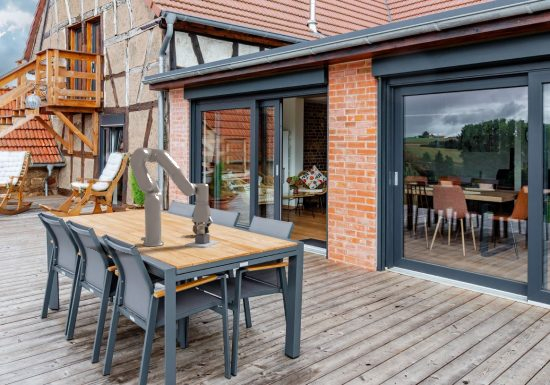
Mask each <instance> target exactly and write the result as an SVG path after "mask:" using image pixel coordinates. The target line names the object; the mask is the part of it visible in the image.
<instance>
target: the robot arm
mask: <svg viewBox="0 0 550 385" xmlns="http://www.w3.org/2000/svg"><path fill="white" fill-rule="evenodd" d="M145 162H148V163H149V162H150V163H156V164H158V165H159V167H161V169H162V170H163V171H164V172H165V173H166V174H167V175H168V177H169V179H170V180H171V181H172V182H173V183H174V185H175V186H176V187H177V188H178V190H179V191H180V192H181V193H182V194H183V195H184V196H186V197H192V196H193V195H195V201H194V203H193V204H195V205H194V208H193V218H191V222H192V223H193V224H195V225H196V231H197V226H198V225H200V222H203V223H204V224H205V234H206V233H207V234H209V233H208V230H209V228H210V226H211V225H212V224H213V223H214V221H213V219H212V217H211V216H212V214H211V208H210V205H209V184H208V183H193V182H190V181H189V179H188V178H187V177H186V176H185V175H184V173H183V171H182V169H181V167H180V165H178V163H177V162H176V161H175V160H174V159H173V157H172V156H171V154H170V152H169V151H168V150H165V149H157V148H150V147H138V148H137V149H135V150H134V151H132V154H131V156H130V159H129V164H130V169H131V171H132V173H133V176H134V178H135V181H136V183H137V186H138V188H139V191H141V192H142V193H144V195H145V198H144V200H143V202H144V203H143V206H144V207H143V209H144V225H145V226H144V230H145V231H144V232H145V234H144V236H142V237H141V238H140V241H141V242H142V241H143V242H142V246H144V247H161V246H163V245H165V242H164V241H162V208H161V206H162V204H163V203H164V202H163V201H164V197H163V195H162V192H161V190H160V187H159V185H158V182H157V180H156V179H155V178H154V177H152V176H151V175H150V173H149V171H148V168H147V166H146V163H145Z"/></svg>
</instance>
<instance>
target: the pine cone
mask: <svg viewBox="0 0 550 385" xmlns="http://www.w3.org/2000/svg"><path fill="white" fill-rule="evenodd" d="M193 224H194V223H193ZM200 225H205V223H204V222H200ZM191 230H192V232H193V234H195V235H197V231H196V225H195V224H194V225H192V229H191ZM207 234H210V230H209V229H208V233H207Z"/></svg>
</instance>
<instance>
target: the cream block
mask: <svg viewBox="0 0 550 385" xmlns="http://www.w3.org/2000/svg"><path fill="white" fill-rule="evenodd" d="M197 234H205V225H198V226H197ZM206 234H208V233H206Z"/></svg>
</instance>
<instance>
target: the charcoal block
mask: <svg viewBox="0 0 550 385" xmlns="http://www.w3.org/2000/svg"><path fill="white" fill-rule="evenodd" d="M210 236H211V235H210V233H207V234H197V235H196V234H195V235H194V241H195V243H200V244H206V243H208V242H210V240H211V239H210Z"/></svg>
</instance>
